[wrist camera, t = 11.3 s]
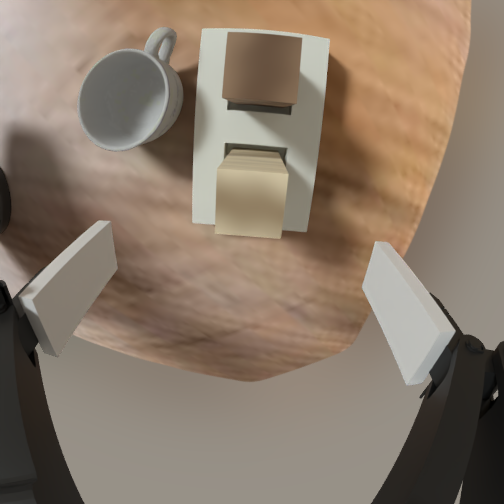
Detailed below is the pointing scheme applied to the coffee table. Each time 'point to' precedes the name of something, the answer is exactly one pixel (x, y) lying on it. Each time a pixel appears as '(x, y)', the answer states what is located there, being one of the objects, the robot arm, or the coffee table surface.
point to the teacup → (131, 95)
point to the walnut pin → (262, 69)
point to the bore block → (258, 126)
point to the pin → (251, 193)
